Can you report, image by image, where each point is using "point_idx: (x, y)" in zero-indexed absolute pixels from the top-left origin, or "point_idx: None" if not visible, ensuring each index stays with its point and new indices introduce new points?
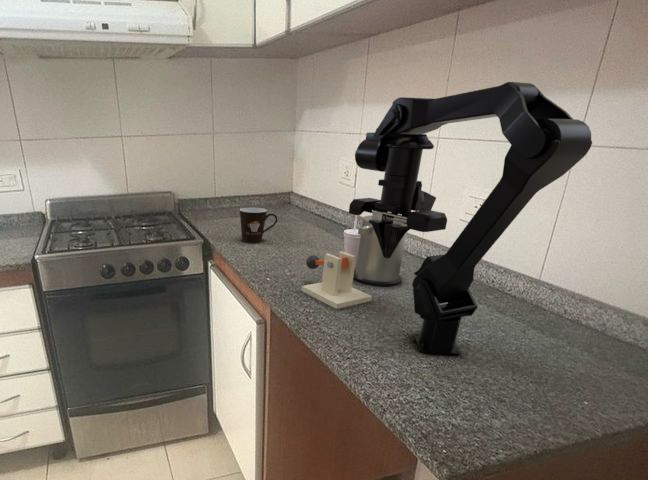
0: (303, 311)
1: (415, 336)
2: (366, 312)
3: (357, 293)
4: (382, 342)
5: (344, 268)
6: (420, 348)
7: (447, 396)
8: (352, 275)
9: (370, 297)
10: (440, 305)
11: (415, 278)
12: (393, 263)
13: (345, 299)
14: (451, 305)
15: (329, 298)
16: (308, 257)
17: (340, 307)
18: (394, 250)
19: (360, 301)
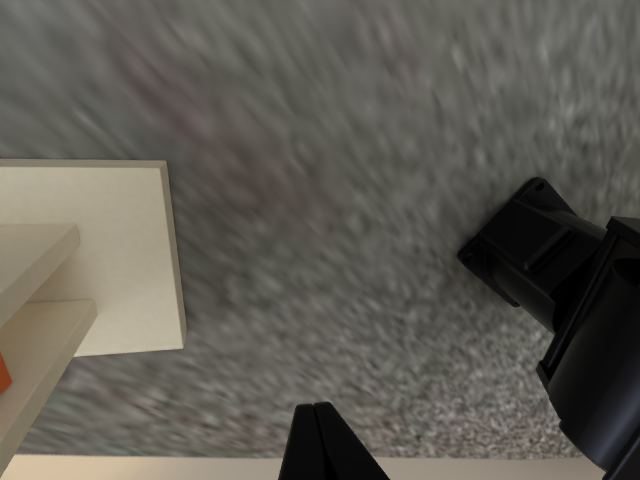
0: (152, 414)
1: (471, 266)
2: (247, 251)
3: (102, 207)
4: (420, 343)
5: (1, 356)
6: (509, 303)
7: None
8: (32, 276)
9: (162, 176)
10: (599, 283)
11: (601, 466)
12: None
13: (153, 298)
14: (632, 245)
15: (121, 345)
16: None
17: (184, 321)
18: (365, 449)
19: (171, 231)
